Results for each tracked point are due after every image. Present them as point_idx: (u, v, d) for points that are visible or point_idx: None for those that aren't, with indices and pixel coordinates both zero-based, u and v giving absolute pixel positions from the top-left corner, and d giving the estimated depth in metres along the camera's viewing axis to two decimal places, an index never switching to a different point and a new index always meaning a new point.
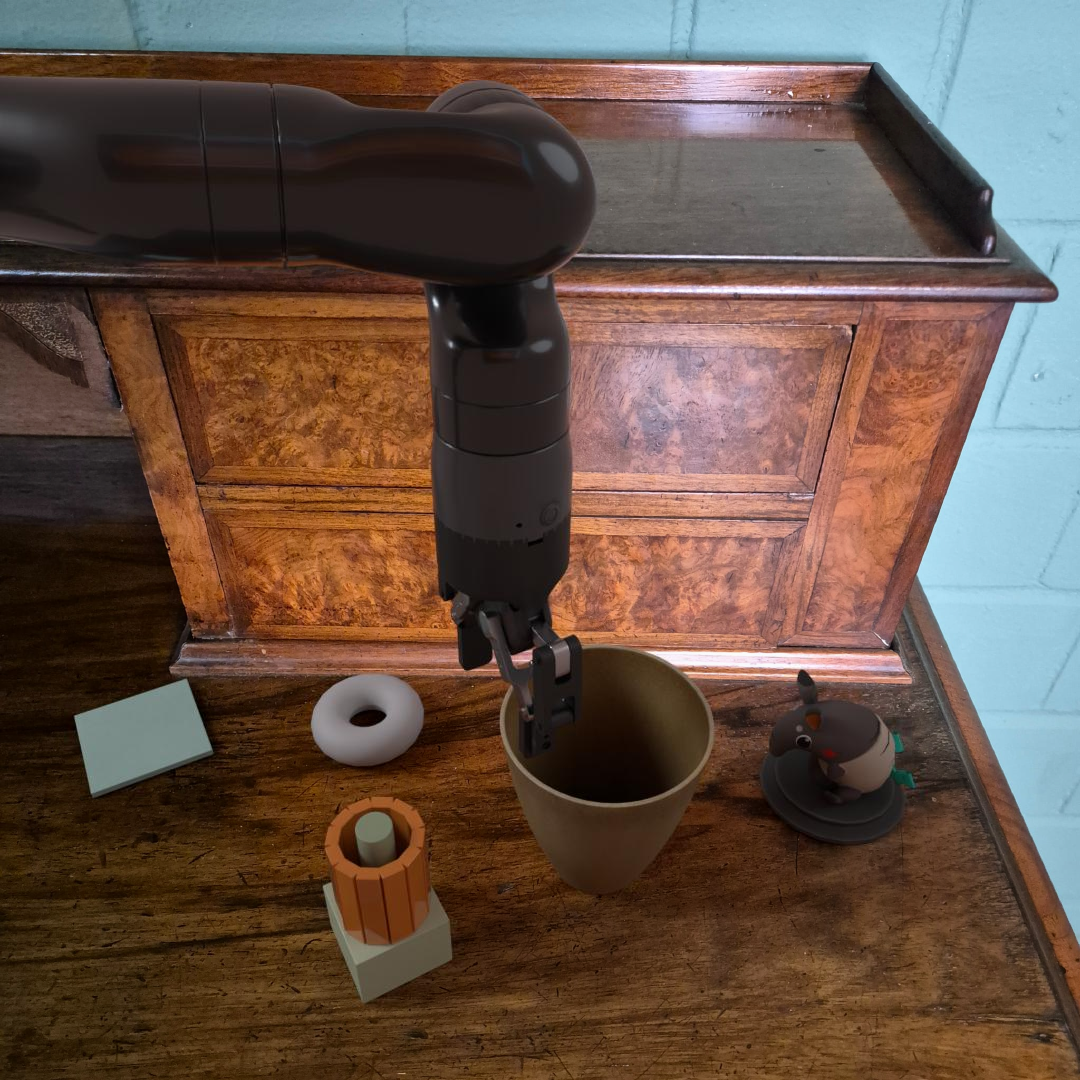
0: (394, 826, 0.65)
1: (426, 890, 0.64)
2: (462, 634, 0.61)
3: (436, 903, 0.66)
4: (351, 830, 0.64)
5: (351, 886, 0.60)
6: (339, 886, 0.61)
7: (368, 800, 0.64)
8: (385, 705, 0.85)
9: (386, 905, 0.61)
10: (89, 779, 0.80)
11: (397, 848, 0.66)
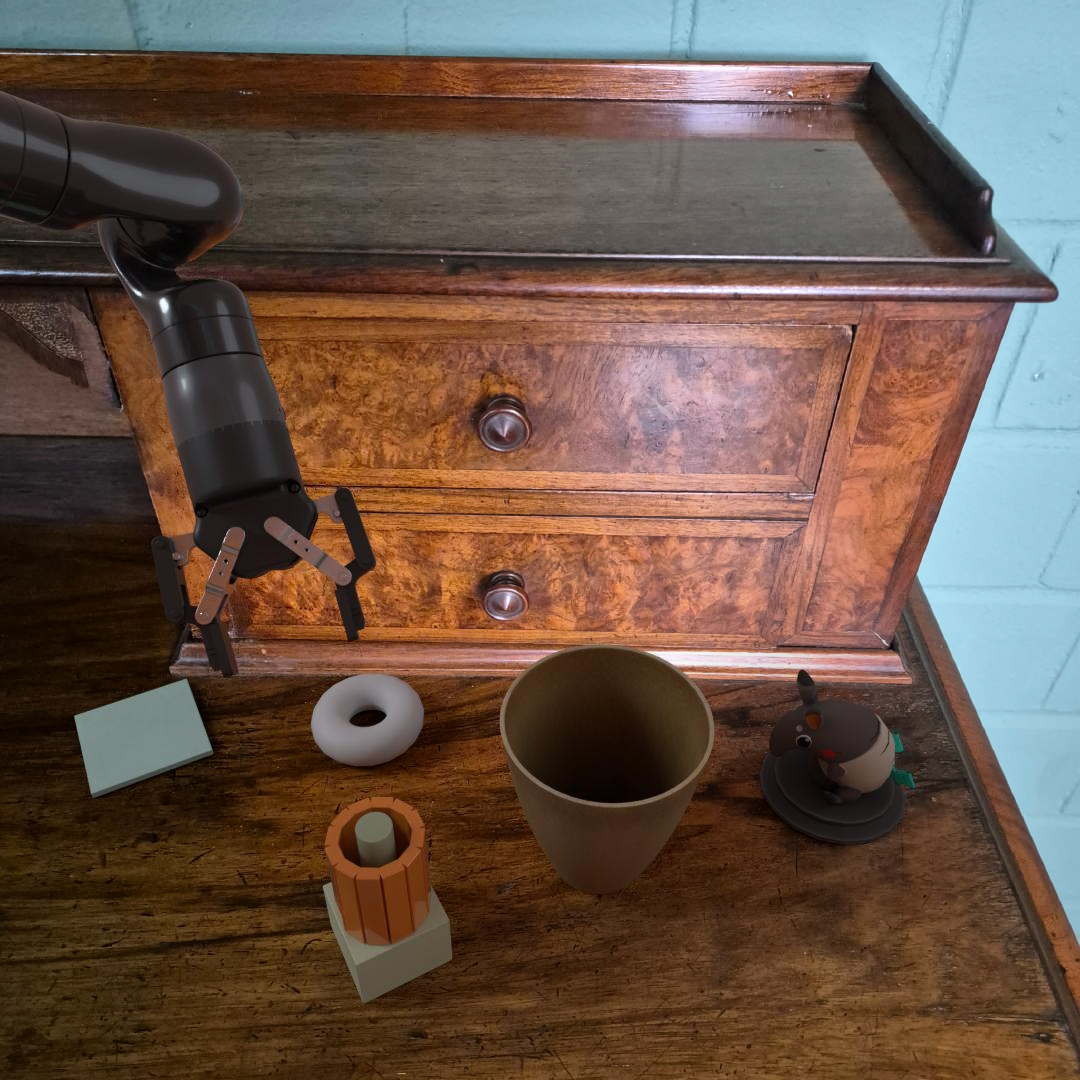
0: (394, 826, 0.65)
1: (426, 890, 0.64)
2: (220, 626, 0.64)
3: (436, 903, 0.66)
4: (351, 830, 0.64)
5: (351, 886, 0.60)
6: (339, 886, 0.61)
7: (368, 800, 0.64)
8: (385, 705, 0.85)
9: (386, 905, 0.61)
10: (89, 779, 0.80)
11: (397, 848, 0.66)
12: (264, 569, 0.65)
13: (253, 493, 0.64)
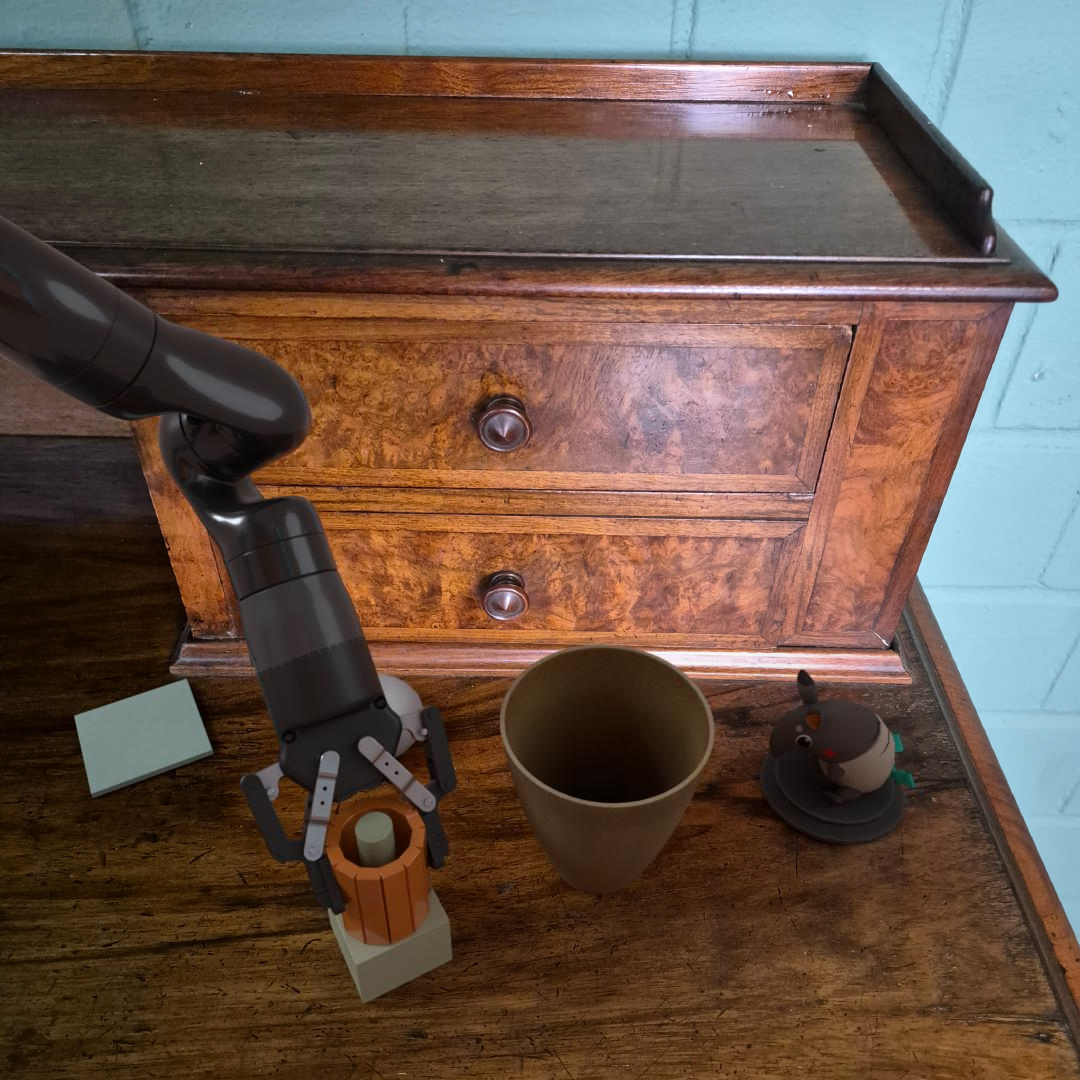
0: (394, 826, 0.65)
1: (426, 890, 0.64)
2: None
3: (436, 903, 0.66)
4: (351, 830, 0.64)
5: (351, 886, 0.60)
6: (339, 886, 0.61)
7: (368, 800, 0.64)
8: None
9: (386, 905, 0.61)
10: (89, 779, 0.80)
11: (397, 848, 0.66)
12: (356, 791, 0.62)
13: (343, 714, 0.63)
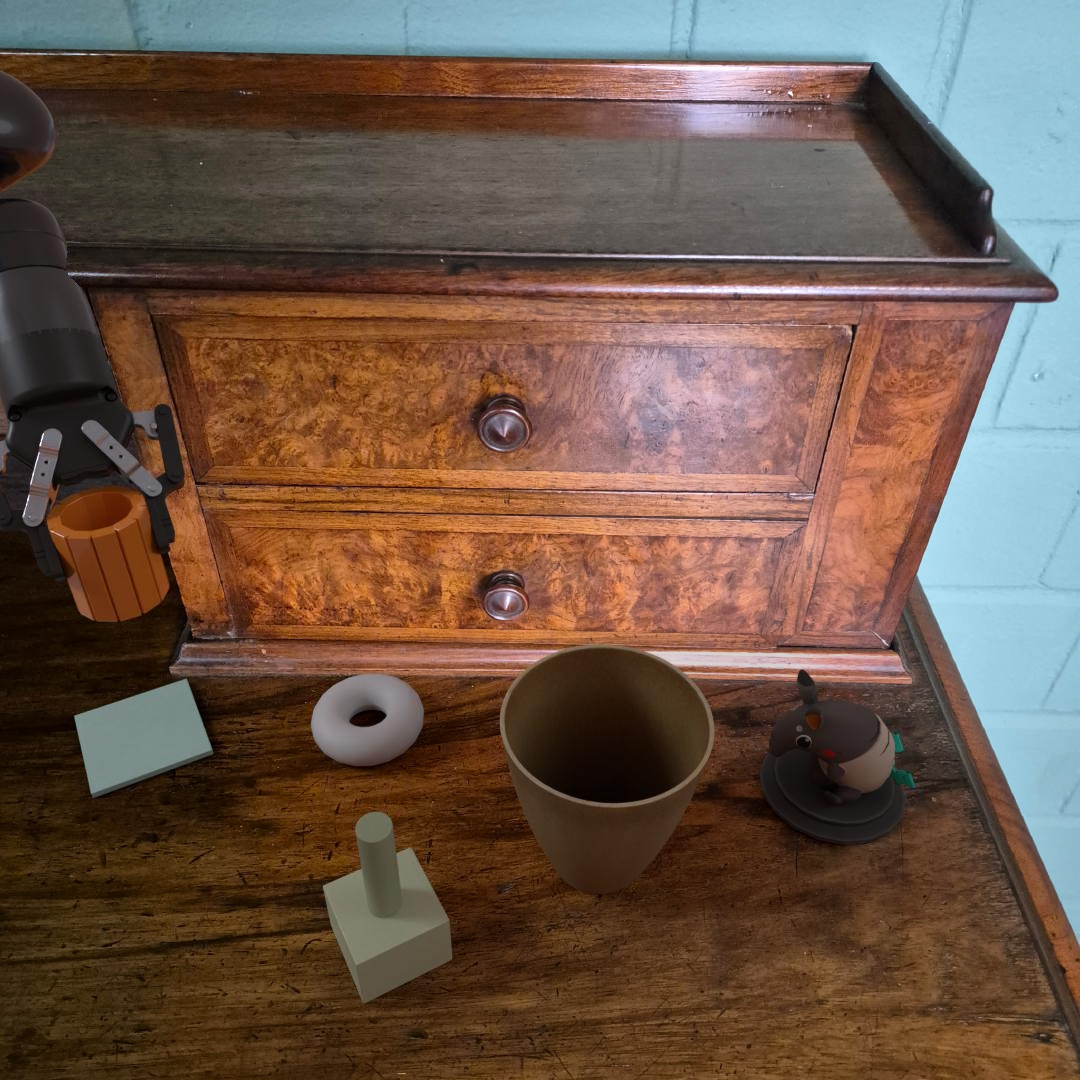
0: (126, 515, 0.69)
1: (153, 572, 0.68)
2: None
3: (436, 903, 0.66)
4: (81, 513, 0.68)
5: (66, 548, 0.64)
6: (59, 553, 0.65)
7: (99, 488, 0.68)
8: (385, 705, 0.85)
9: (103, 572, 0.65)
10: (89, 779, 0.80)
11: None
12: (81, 471, 0.67)
13: (69, 399, 0.67)
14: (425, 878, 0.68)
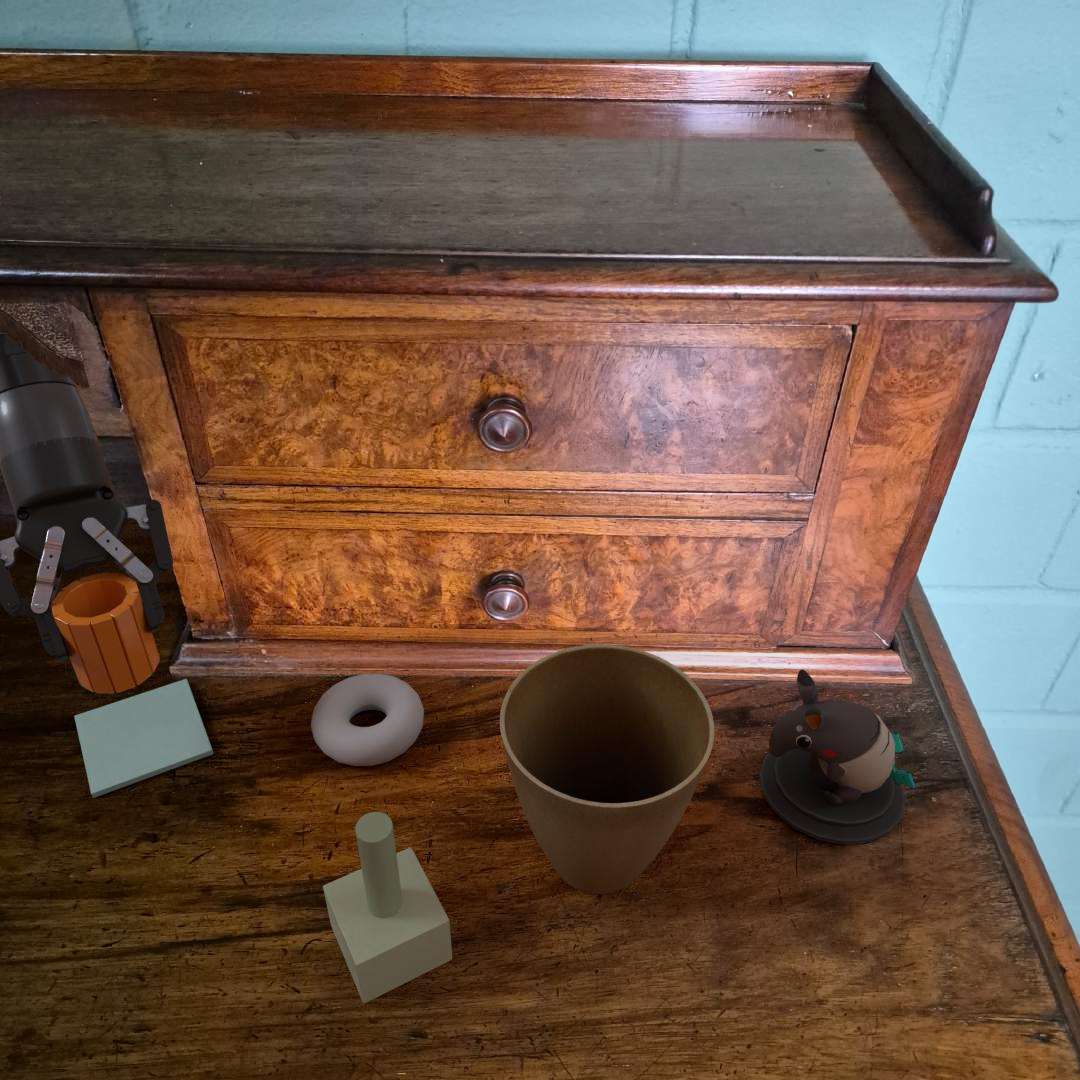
0: (121, 598, 0.78)
1: (146, 649, 0.78)
2: None
3: (436, 903, 0.66)
4: (82, 598, 0.77)
5: (68, 632, 0.73)
6: (62, 636, 0.74)
7: (97, 575, 0.78)
8: (385, 705, 0.85)
9: (101, 652, 0.75)
10: (89, 779, 0.80)
11: None
12: (81, 562, 0.76)
13: (71, 499, 0.76)
14: (425, 878, 0.68)
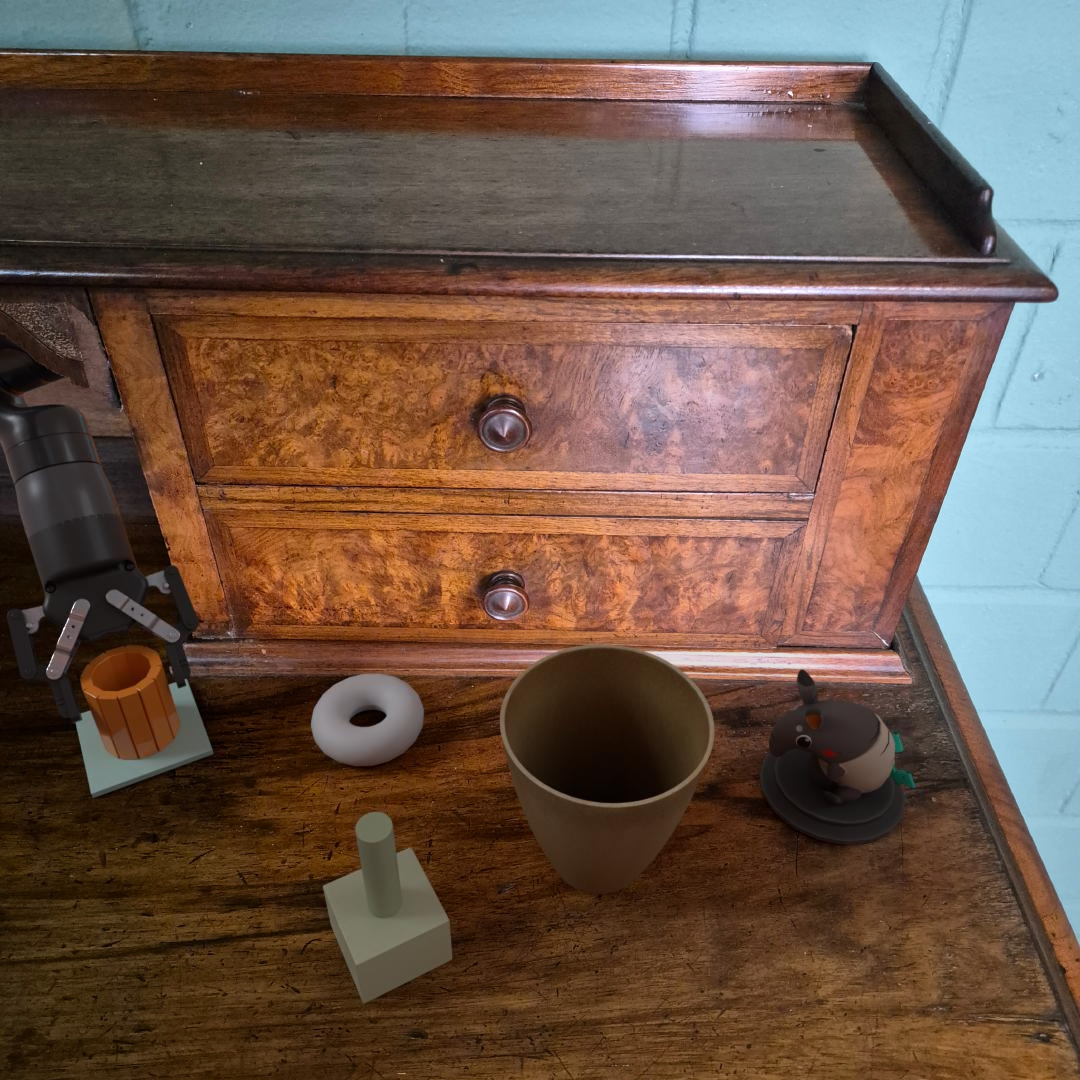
0: (145, 669, 0.83)
1: (168, 717, 0.82)
2: (68, 680, 0.78)
3: (436, 903, 0.66)
4: (108, 670, 0.82)
5: (96, 705, 0.78)
6: (90, 707, 0.79)
7: (123, 647, 0.82)
8: (385, 705, 0.85)
9: (127, 722, 0.79)
10: (89, 779, 0.80)
11: None
12: (105, 632, 0.80)
13: (95, 572, 0.80)
14: (425, 878, 0.68)
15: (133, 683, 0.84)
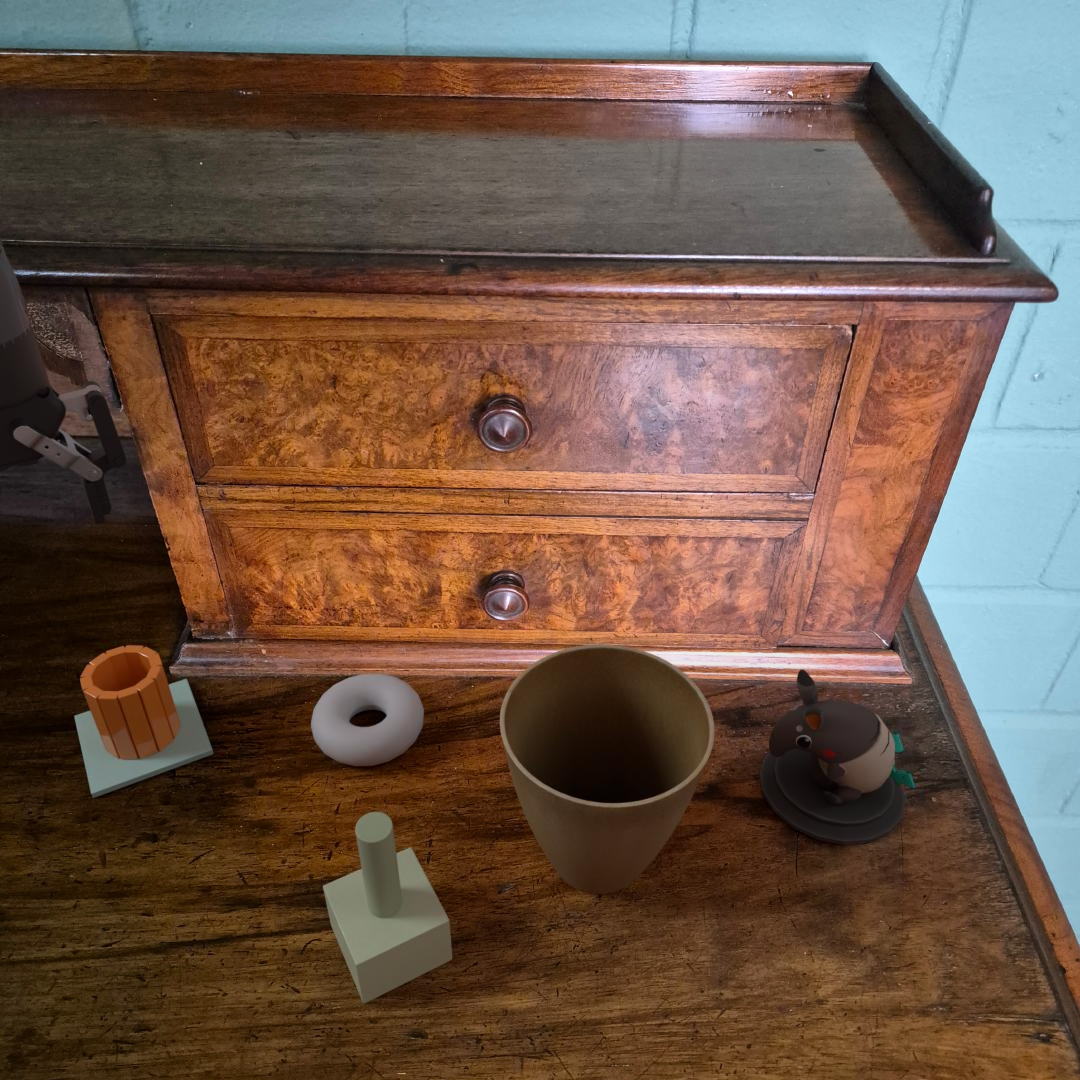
0: (145, 669, 0.83)
1: (168, 717, 0.82)
2: None
3: (436, 903, 0.66)
4: (108, 670, 0.82)
5: (96, 705, 0.78)
6: (90, 707, 0.79)
7: (123, 647, 0.82)
8: (385, 705, 0.85)
9: (127, 722, 0.79)
10: (89, 779, 0.80)
11: None
12: (9, 466, 0.65)
13: None
14: (425, 878, 0.68)
15: (133, 683, 0.84)
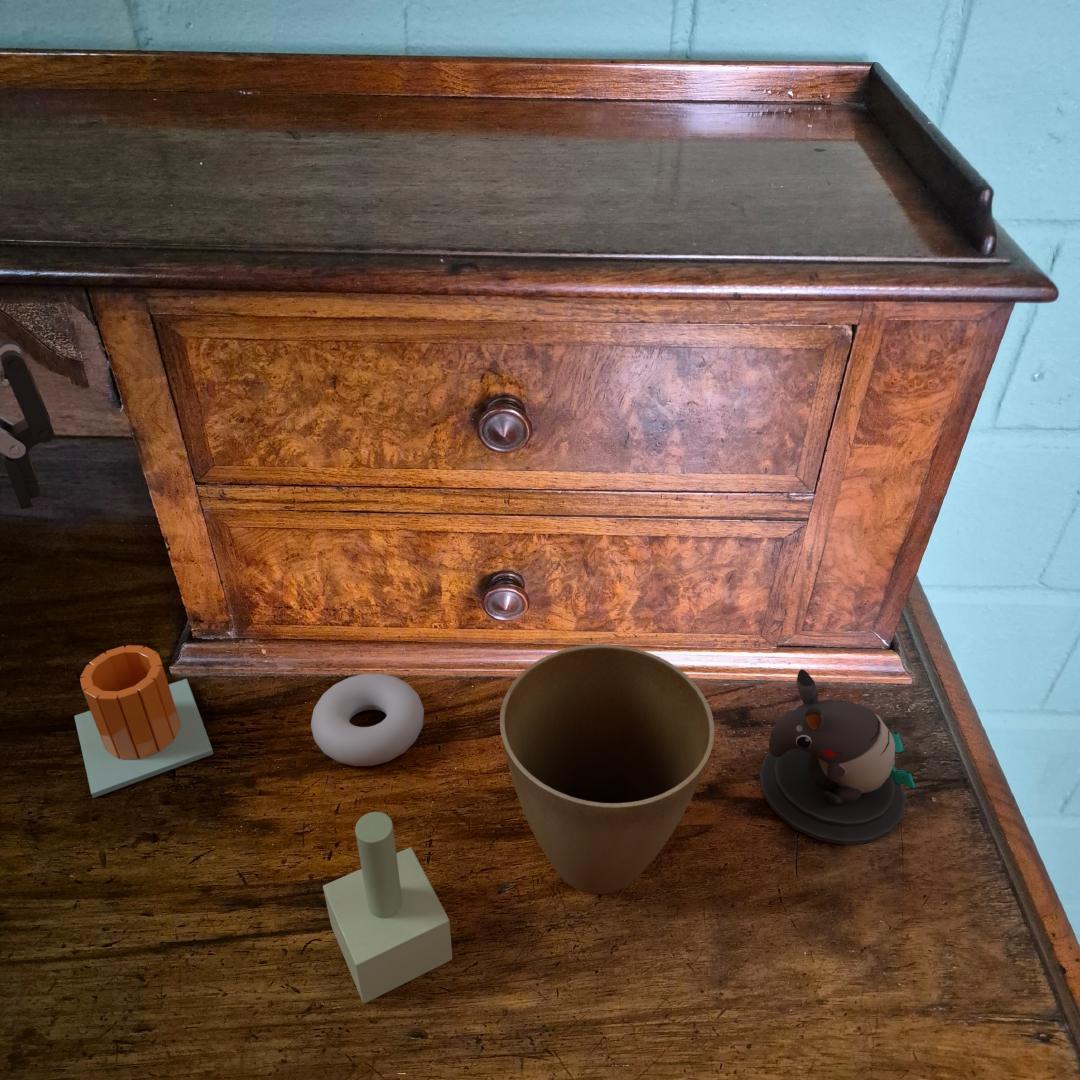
0: (145, 669, 0.83)
1: (168, 717, 0.82)
2: None
3: (436, 903, 0.66)
4: (108, 670, 0.82)
5: (96, 705, 0.78)
6: (90, 707, 0.79)
7: (123, 647, 0.82)
8: (385, 705, 0.85)
9: (127, 722, 0.79)
10: (89, 779, 0.80)
11: None
12: None
13: None
14: (425, 878, 0.68)
15: (133, 683, 0.84)
